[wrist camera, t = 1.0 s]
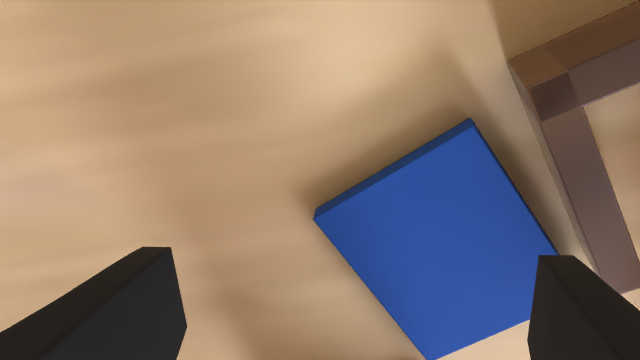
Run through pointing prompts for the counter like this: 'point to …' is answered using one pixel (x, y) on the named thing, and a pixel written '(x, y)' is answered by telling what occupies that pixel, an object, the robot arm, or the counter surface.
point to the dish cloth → (442, 242)
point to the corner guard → (584, 130)
